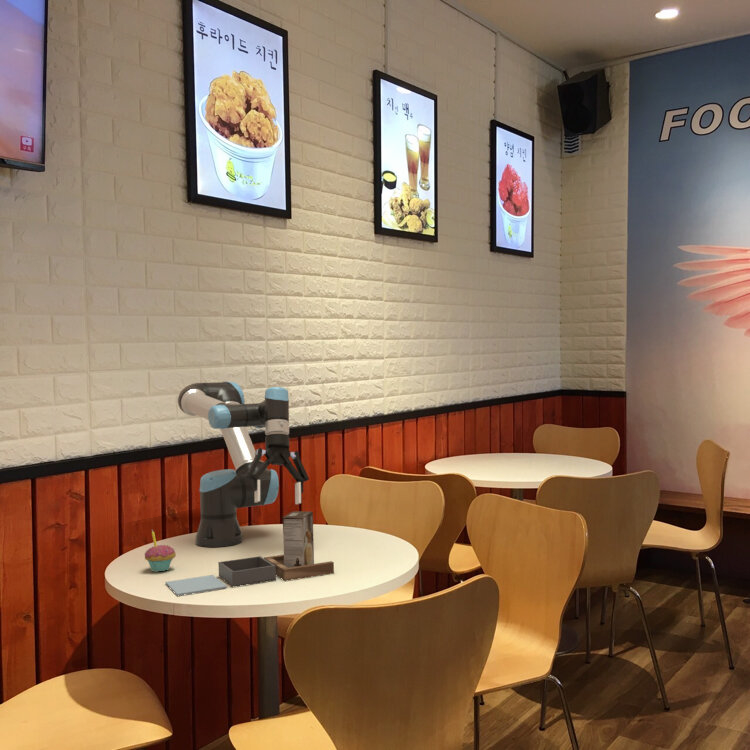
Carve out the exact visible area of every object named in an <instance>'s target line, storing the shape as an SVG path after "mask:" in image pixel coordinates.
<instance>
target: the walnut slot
mask: <svg viewBox="0 0 750 750" xmlns="http://www.w3.org/2000/svg"><path fill="white" fill-rule="evenodd" d="M263 558H264V559H266V560H267V561H269V562H270V563H272V564H274V565H275V566H276V575H277V576H276V577H278V576H279V577H280V578H279V577H278V578H279V579H281V578H282V579H283V581H284V580H288V581H292V580H291V579H295V580H299V579H298V578H301V579H304V578H305V577H307V578H311V576H313V577H319V576H318V575H320V576H325V575H324V574H326V575H331V574H330V573H332V574H334V573H335V566H334V561H332V560H331V561H324V562H318V563H314V564H310V565H303V566H297V567H290V568H287V567H286V566H284V554H280V555H279V554H278V555H272V556H271V555H270V556H264V557H263ZM282 579H281V580H282ZM305 579H306V578H305Z"/></svg>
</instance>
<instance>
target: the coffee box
mask: <svg viewBox="0 0 750 750" xmlns="http://www.w3.org/2000/svg"><path fill="white" fill-rule="evenodd" d="M313 512H314V511H309V510H308V511H306V510H305V511H301V510H299V511H296V510H295V511H293V510H292V511H291V512H289V513H288V514H286V515H285V516H283V517H282V536H283V537H282V538H283V539H282V540H283V555H284V566H286V567H287V568H290V567H297V566H303V565H310V564H315V551H314V550H315V549H314V547H315V546H314V514H313Z"/></svg>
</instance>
